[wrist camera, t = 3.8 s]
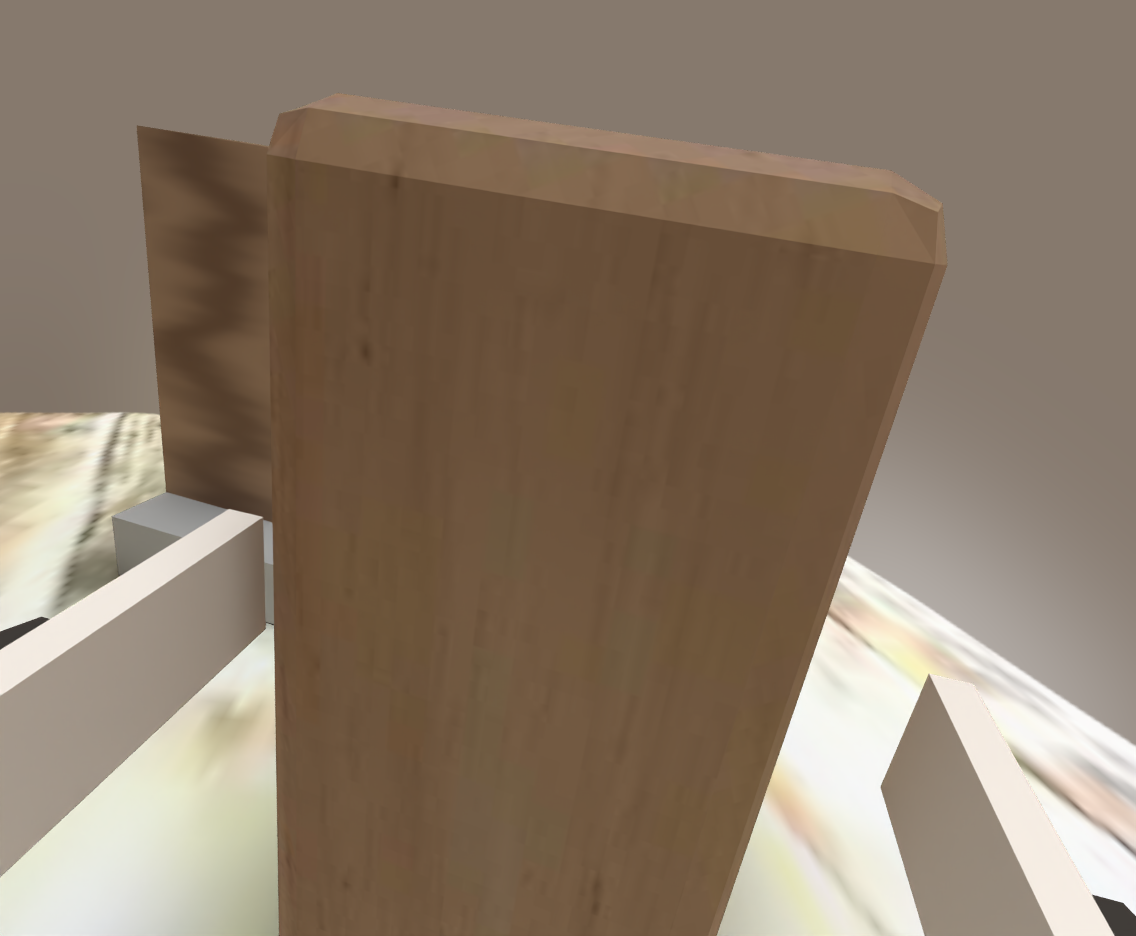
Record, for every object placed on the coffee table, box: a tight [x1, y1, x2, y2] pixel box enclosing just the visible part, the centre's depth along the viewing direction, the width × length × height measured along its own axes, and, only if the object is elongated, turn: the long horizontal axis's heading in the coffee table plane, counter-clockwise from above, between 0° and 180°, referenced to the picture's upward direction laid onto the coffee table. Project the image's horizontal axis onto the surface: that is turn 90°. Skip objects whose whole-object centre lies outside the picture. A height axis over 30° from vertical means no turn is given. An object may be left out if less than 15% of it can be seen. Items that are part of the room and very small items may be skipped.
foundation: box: [112, 492, 274, 624], centre depth 34 cm, size 24×12×3 cm, turn 74°
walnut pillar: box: [137, 126, 272, 522], centre depth 32 cm, size 6×6×16 cm
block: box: [267, 93, 947, 936], centre depth 17 cm, size 10×10×20 cm
